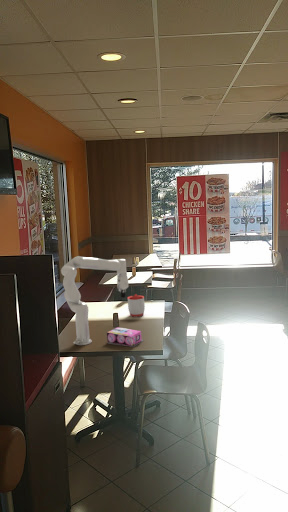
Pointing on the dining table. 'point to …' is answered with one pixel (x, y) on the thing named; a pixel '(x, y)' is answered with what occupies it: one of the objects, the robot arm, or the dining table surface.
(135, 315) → the white red bucket
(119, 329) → the gum box
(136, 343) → the mat
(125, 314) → the dining table surface
